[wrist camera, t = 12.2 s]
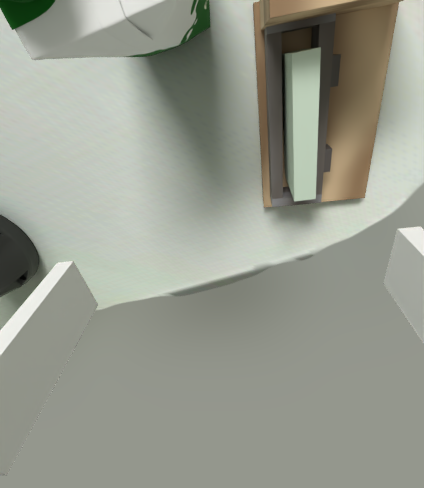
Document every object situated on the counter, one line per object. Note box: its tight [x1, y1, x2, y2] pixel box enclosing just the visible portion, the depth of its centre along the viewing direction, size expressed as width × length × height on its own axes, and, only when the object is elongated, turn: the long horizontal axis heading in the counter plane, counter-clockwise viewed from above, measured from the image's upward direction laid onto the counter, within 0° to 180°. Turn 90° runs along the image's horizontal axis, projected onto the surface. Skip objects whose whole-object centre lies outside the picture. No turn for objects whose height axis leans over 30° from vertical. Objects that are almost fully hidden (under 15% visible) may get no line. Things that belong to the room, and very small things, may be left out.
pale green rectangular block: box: [282, 47, 321, 201], centre depth 26 cm, size 3×12×7 cm, turn 10°
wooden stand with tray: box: [253, 0, 403, 207], centre depth 25 cm, size 12×20×11 cm, turn 8°
